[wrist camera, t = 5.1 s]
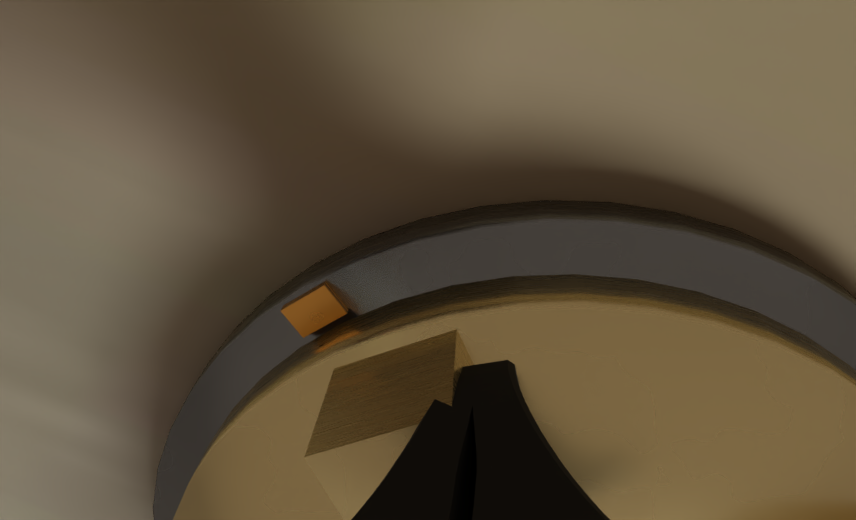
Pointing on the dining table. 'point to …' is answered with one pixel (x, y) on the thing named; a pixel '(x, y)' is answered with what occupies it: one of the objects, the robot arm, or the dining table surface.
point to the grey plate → (490, 259)
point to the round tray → (554, 404)
